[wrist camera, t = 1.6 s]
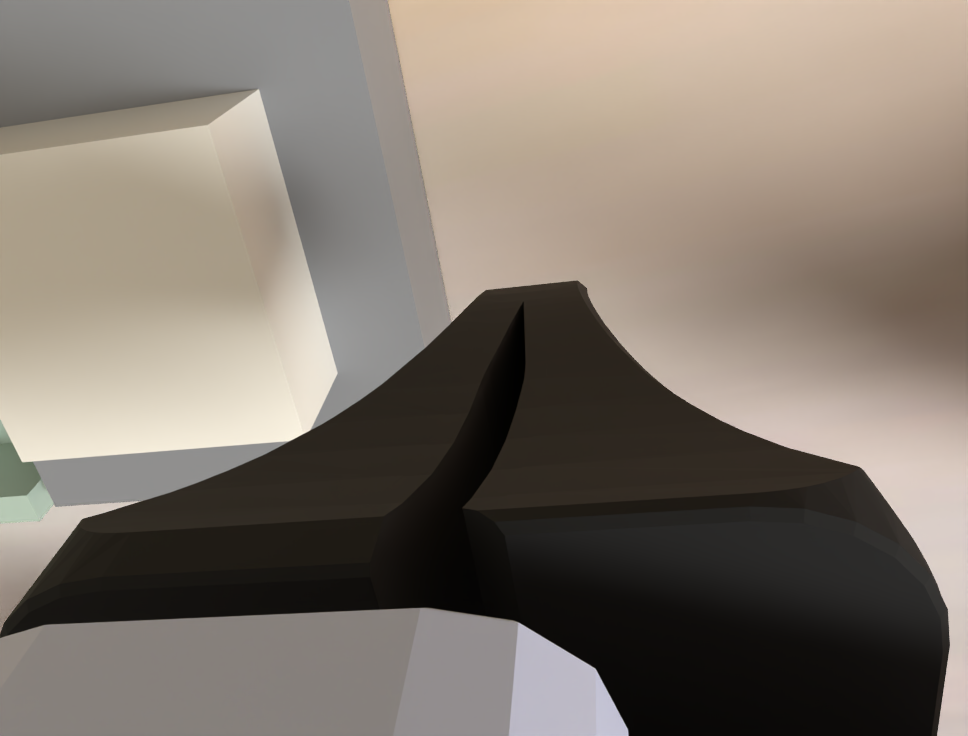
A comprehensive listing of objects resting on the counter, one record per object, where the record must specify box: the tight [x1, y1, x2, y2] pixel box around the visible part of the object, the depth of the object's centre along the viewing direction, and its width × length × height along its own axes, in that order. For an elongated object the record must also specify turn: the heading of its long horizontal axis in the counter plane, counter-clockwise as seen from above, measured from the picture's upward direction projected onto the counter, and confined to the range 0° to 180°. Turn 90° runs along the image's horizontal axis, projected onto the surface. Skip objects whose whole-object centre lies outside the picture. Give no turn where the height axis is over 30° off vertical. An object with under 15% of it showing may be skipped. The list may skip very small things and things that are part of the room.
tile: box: [0, 89, 338, 462], centre depth 17 cm, size 6×6×2 cm
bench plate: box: [0, 0, 451, 507], centre depth 19 cm, size 12×10×3 cm
